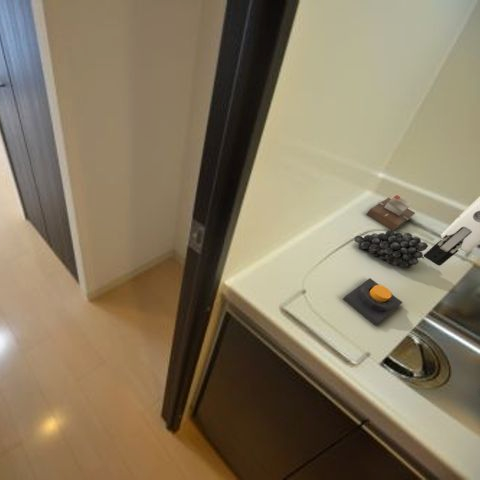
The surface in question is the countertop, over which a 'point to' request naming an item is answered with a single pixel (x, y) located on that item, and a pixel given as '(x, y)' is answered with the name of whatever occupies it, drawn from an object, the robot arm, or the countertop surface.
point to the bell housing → (370, 302)
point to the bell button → (380, 293)
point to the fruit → (393, 247)
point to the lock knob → (397, 205)
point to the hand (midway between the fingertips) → (433, 259)
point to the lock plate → (388, 215)
